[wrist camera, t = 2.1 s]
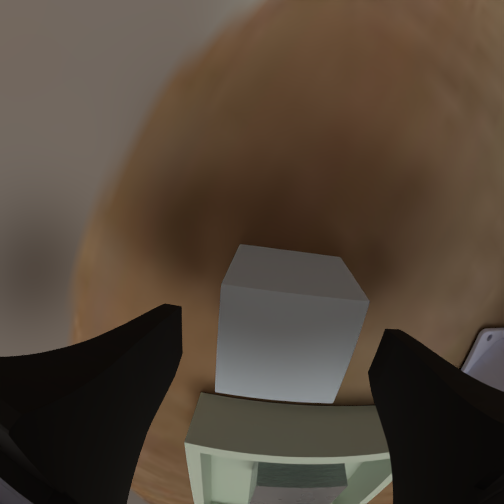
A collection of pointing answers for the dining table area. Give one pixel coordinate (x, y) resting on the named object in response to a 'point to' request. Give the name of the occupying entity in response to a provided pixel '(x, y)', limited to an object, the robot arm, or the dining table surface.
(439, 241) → the dining table surface
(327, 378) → the grey cube
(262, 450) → the crate
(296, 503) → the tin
